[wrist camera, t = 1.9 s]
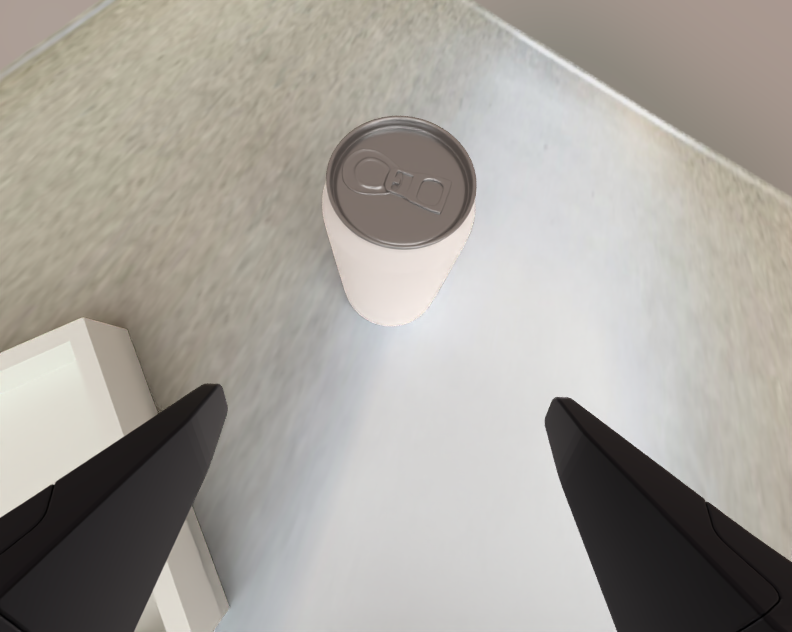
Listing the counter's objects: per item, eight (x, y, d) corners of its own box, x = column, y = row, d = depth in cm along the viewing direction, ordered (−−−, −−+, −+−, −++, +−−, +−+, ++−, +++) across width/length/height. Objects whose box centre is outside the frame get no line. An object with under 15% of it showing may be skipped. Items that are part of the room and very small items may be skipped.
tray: (229, 607, 19) (198, 652, 16) (-38, 767, 17) (-139, 857, 14) (127, 329, 23) (83, 317, 19) (-108, 434, 21) (-204, 441, 17)
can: (363, 229, 25) (351, 85, 14) (447, 258, 25) (507, 136, 13) (330, 309, 24) (285, 224, 12) (419, 341, 24) (459, 285, 12)
